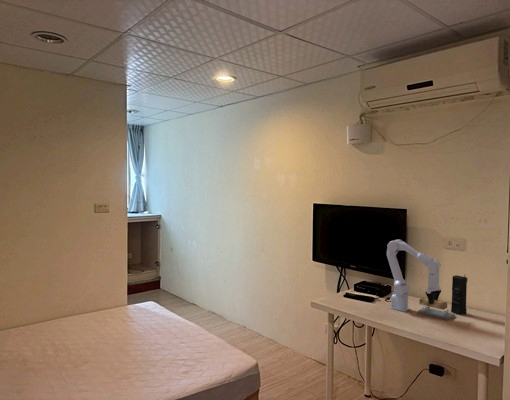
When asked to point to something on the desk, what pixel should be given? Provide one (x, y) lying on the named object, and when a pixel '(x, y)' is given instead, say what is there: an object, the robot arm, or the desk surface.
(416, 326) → the desk surface
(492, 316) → the desk surface
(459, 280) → the portable radio
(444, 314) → the peg stand
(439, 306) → the shelf board
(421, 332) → the desk surface
